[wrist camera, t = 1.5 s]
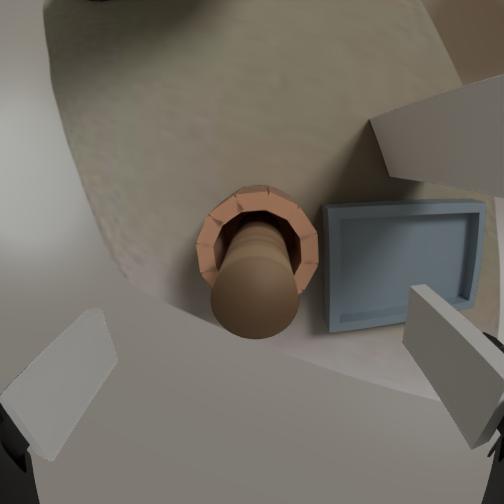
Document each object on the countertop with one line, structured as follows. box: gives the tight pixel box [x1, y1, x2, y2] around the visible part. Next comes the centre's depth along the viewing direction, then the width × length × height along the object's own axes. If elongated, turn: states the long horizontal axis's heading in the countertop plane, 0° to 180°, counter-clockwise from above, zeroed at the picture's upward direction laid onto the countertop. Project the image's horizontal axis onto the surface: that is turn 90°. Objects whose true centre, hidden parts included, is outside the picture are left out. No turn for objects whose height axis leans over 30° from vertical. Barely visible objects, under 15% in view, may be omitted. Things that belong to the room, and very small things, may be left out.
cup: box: [196, 185, 319, 295], centre depth 24 cm, size 8×8×8 cm
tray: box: [322, 199, 486, 333], centre depth 27 cm, size 12×18×3 cm, turn 96°
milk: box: [370, 74, 504, 198], centre depth 14 cm, size 6×6×22 cm
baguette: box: [211, 211, 299, 339], centre depth 20 cm, size 4×4×14 cm
